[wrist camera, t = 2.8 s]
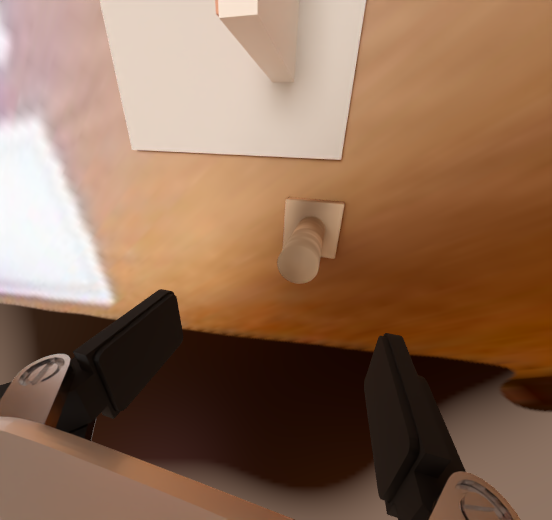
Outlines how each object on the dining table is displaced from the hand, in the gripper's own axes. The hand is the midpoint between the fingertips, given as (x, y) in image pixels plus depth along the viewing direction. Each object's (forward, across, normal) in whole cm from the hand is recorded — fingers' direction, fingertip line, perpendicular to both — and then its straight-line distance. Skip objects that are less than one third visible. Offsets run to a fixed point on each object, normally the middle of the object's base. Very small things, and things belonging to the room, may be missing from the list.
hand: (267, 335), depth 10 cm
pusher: (+17, 0, -1) cm, 17 cm away
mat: (+17, +10, -18) cm, 26 cm away
